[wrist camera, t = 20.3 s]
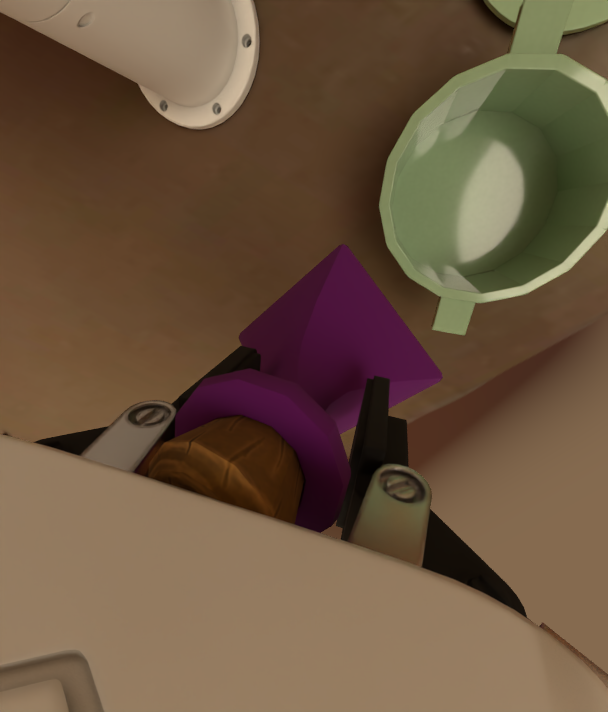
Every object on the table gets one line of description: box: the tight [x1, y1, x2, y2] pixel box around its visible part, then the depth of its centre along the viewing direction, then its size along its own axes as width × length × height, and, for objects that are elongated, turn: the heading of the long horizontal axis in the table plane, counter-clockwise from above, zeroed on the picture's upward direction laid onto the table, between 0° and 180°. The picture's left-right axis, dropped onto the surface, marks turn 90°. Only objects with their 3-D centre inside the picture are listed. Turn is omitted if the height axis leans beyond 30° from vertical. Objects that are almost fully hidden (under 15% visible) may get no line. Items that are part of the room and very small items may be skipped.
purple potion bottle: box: [148, 244, 443, 533], centre depth 11 cm, size 8×8×18 cm
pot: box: [379, 0, 608, 335], centre depth 25 cm, size 14×19×8 cm
